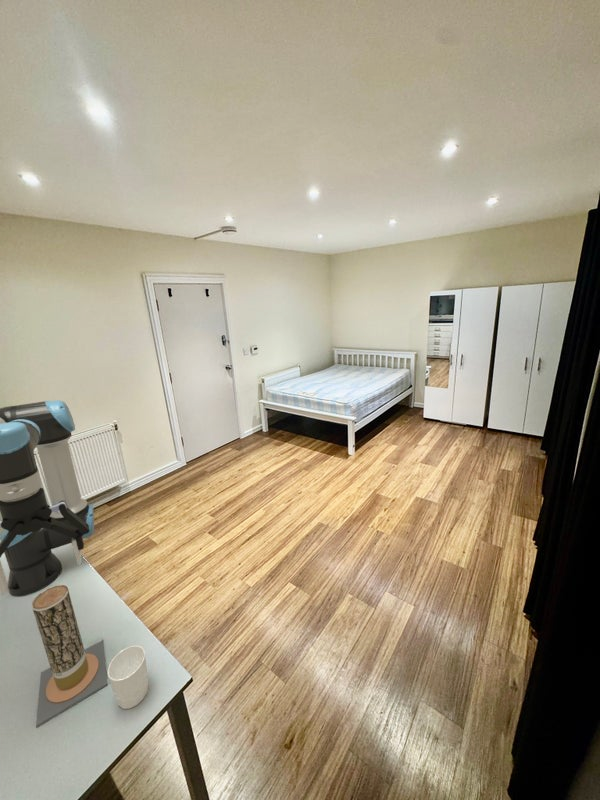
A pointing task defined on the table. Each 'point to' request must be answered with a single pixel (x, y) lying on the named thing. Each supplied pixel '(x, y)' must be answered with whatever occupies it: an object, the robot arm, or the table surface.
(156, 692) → the table surface
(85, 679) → the coaster
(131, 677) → the white cup
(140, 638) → the table surface
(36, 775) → the table surface
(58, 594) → the brown bark cylinder
